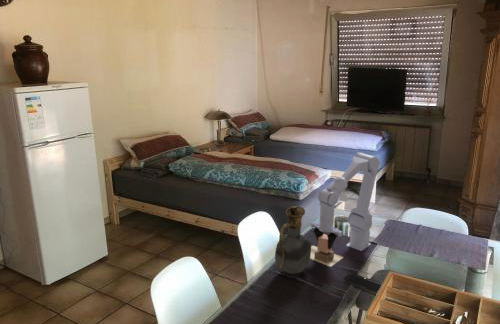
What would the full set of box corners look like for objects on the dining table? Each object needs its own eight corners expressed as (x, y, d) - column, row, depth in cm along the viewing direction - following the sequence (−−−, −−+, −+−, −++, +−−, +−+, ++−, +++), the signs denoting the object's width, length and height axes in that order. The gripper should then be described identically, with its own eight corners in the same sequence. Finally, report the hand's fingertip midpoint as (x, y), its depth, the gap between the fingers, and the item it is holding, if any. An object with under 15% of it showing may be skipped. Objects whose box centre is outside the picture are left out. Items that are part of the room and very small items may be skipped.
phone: (350, 272, 164) (386, 284, 156) (349, 274, 165) (386, 287, 156) (342, 281, 158) (380, 294, 150) (342, 283, 159) (379, 297, 150)
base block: (321, 253, 180) (322, 247, 179) (333, 257, 176) (334, 251, 175) (314, 258, 175) (314, 252, 175) (326, 263, 171) (326, 256, 171)
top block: (323, 246, 178) (323, 233, 176) (331, 249, 175) (332, 237, 173) (317, 249, 174) (318, 237, 173) (326, 253, 171) (327, 240, 170)
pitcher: (312, 268, 168) (316, 201, 160) (291, 290, 153) (294, 217, 145) (289, 261, 174) (292, 196, 166) (266, 281, 159) (268, 210, 150)
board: (312, 246, 187) (313, 245, 187) (343, 258, 177) (343, 257, 176) (299, 255, 179) (299, 254, 179) (330, 268, 169) (330, 266, 168)
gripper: (307, 215, 172) (305, 244, 176) (337, 225, 163) (334, 255, 166) (316, 210, 177) (314, 238, 181) (345, 220, 168) (343, 249, 172)
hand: (324, 246), depth 174 cm, fingers closed on top block, 4 cm apart
